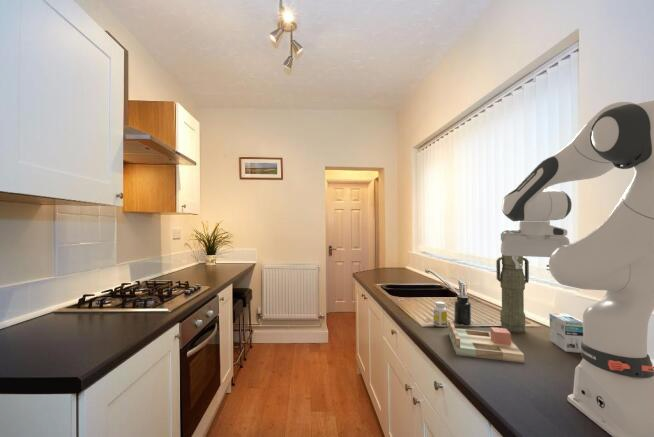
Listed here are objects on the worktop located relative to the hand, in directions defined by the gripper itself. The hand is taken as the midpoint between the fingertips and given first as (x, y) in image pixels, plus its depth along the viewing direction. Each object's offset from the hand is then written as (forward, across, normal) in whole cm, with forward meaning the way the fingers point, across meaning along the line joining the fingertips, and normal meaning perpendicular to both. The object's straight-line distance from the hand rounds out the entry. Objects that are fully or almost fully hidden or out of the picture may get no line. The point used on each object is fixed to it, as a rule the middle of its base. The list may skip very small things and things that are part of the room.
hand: (534, 269), depth 103 cm
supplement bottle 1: (+29, -29, +20) cm, 46 cm away
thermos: (+29, 0, +23) cm, 37 cm away
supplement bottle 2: (+29, -19, +26) cm, 44 cm away
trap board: (+28, -17, -1) cm, 33 cm away
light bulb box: (+29, +13, +8) cm, 33 cm away
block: (+26, -11, -1) cm, 28 cm away
